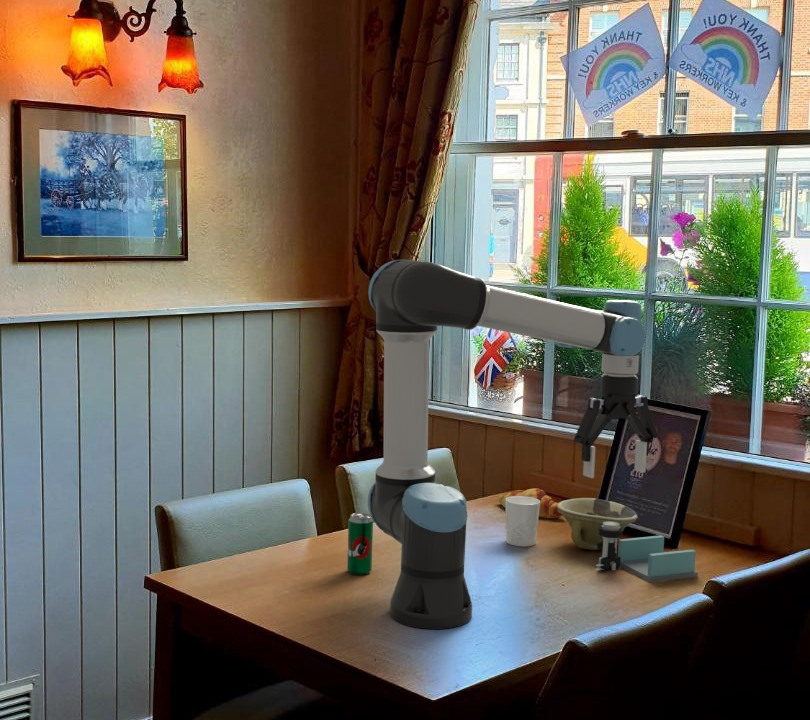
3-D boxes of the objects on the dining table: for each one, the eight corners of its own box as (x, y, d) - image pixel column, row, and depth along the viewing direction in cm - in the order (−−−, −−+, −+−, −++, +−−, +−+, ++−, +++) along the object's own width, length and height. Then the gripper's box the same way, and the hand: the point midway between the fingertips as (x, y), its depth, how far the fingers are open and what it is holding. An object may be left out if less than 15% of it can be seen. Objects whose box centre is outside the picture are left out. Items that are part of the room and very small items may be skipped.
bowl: (602, 564, 230) (605, 521, 228) (540, 544, 243) (542, 503, 242) (651, 550, 241) (653, 509, 240) (588, 531, 255) (591, 492, 253)
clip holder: (650, 582, 218) (651, 556, 217) (614, 563, 230) (615, 539, 229) (697, 576, 223) (699, 551, 222) (659, 558, 235) (661, 534, 234)
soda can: (376, 572, 219) (378, 515, 217) (359, 577, 215) (360, 520, 214) (359, 566, 222) (361, 510, 221) (341, 571, 218) (343, 515, 217)
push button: (606, 575, 222) (608, 529, 220) (586, 569, 226) (589, 523, 224) (626, 570, 226) (629, 524, 225) (606, 563, 230) (609, 518, 229)
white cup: (543, 541, 245) (545, 499, 244) (528, 549, 238) (530, 506, 237) (513, 535, 249) (515, 494, 248) (497, 543, 242) (499, 500, 241)
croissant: (491, 519, 276) (483, 495, 273) (512, 496, 282) (504, 472, 279) (559, 535, 262) (551, 509, 258) (579, 510, 268) (572, 485, 264)
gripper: (582, 379, 212) (577, 482, 214) (678, 374, 223) (672, 472, 226) (560, 374, 219) (555, 474, 221) (654, 369, 230) (649, 465, 233)
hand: (614, 474), depth 224 cm, fingers open, 13 cm apart
